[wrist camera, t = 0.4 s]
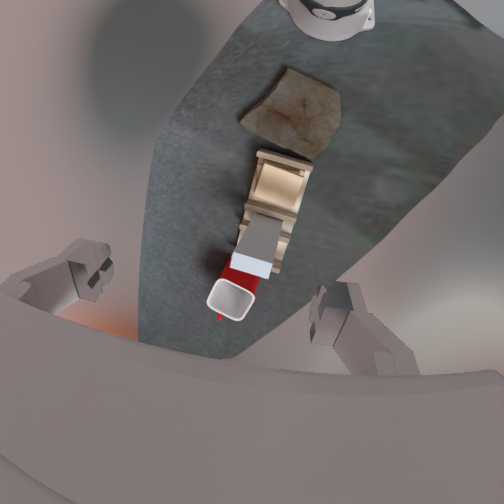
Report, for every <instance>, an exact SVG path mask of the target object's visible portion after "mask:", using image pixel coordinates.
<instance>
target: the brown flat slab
mask: <svg viewBox="0 0 504 504" xmlns="http://www.w3.org/2000/svg"><path fill="white" fill-rule="evenodd" d="M340 104H341V94H340V92H339V91H337V90H334V89H332V88H330V87H328V86H326V85H325V84H323V83H322V82H320V81H317V80H315V79H313V78H311V77H309V76H307V75H305V74H302V73H300V72H297V71H295V70H293V69H292V68H287V69H286V71H285V73H284V74H283V75H282V77H281V78H280V79H279V81H278V82H277V83H276V84H275V86H274V87H273V88H272V89H271V90H270V91H269V92H268V93H267V95H266V96H265V97H264V98H263V99H262V100H261V101H259V102H258V103H257V104H256V105H255V106H254V107H252V108H251V109H250V110H249V111H248V112H247V113H246V114H245V115H244V116H243V117H242V118H241V119H240V121H239V124H240V126H242V127H243V128H244V129H246V130H248V131H250V132H252V133H254V134H256V135H258V136H260V137H263V138H265V139H267V140H268V141H270V142H272V143H275V144H276V145H279V146H281V147H282V148H288V149H291V150H292V151H294V152H296V153H298V154H299V155H301V156H304V157H306V158H307V159H309V160H311V159H313V158H315V157H316V156H318V155H319V154H320V153H321V152H322V151H323V150H324V149H325V148H326V147H327V146H328V145H329V142H330V140H331V139H332V138H333V136H334V135H335V133H336V132H337V131H338V129H339V127H340V125H341V123H342V111H341V107H340Z"/></svg>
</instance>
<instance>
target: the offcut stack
mask: <svg viewBox="0 0 504 504" xmlns="http://www.w3.org/2000/svg"><path fill="white" fill-rule="evenodd" d="M304 174H305V170H302V169H299V168H296V167H292V166H289V165H285V164H282V163H279V162H275V161H271V160H268V159H263V160H262V164H259V165H258V169H257V176H256V182H255V189H254V194H253V195H254V196H253V199H255V200H261V201H266V202H271V203H276V204H278V205H281V206H284V207H286V208H289V209H292V207H293V206H294V207H295V204H296V200H297V197H298V194H299V191H300V187H301V184H302V181H303V179H304Z"/></svg>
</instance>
